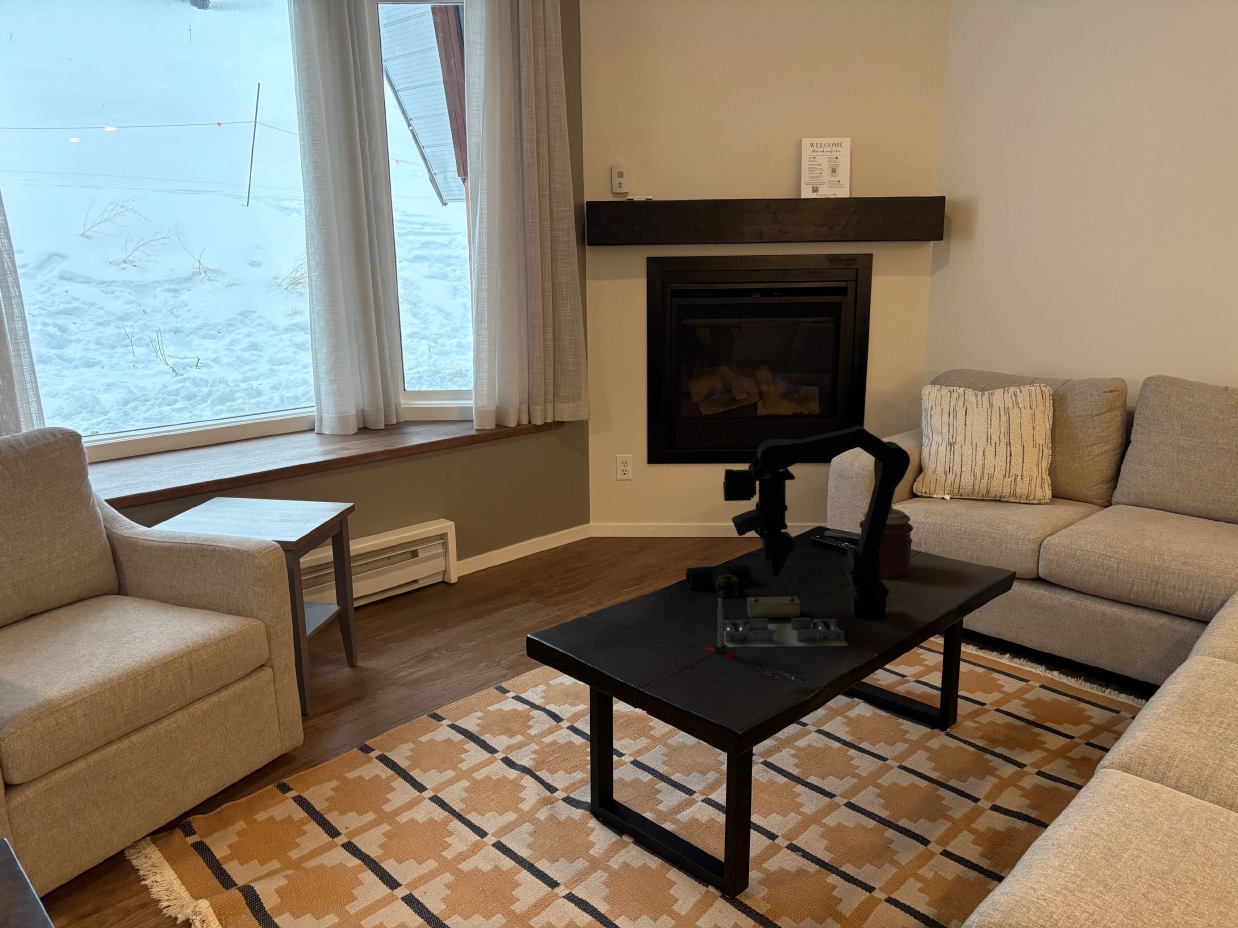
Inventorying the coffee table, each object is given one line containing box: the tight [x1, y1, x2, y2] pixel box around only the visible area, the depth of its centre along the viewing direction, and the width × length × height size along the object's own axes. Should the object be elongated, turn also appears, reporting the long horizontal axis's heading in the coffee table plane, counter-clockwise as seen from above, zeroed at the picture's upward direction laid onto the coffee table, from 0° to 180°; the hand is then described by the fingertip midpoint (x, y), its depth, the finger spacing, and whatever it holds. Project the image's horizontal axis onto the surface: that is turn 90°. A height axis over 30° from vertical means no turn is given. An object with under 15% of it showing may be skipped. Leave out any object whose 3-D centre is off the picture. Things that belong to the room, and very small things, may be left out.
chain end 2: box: [790, 617, 846, 641], centre depth 186 cm, size 10×7×2 cm
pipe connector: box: [685, 562, 752, 598], centre depth 214 cm, size 12×5×15 cm
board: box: [724, 623, 850, 648], centre depth 186 cm, size 25×11×1 cm, turn 90°
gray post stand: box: [705, 597, 738, 660], centre depth 174 cm, size 8×13×9 cm
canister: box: [858, 504, 914, 579], centre depth 223 cm, size 13×13×18 cm
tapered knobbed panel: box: [746, 595, 801, 618], centre depth 197 cm, size 11×4×5 cm, turn 92°
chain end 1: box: [724, 617, 773, 642], centre depth 186 cm, size 10×7×2 cm
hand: (772, 568), depth 194 cm, fingers open, 9 cm apart
